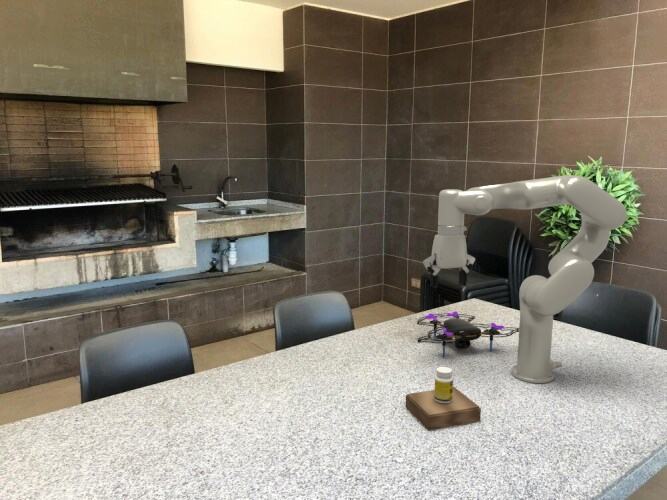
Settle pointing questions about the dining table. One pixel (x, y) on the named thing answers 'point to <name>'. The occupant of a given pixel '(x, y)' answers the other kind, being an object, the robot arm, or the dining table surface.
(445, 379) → the supplement bottle
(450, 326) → the drone
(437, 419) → the walnut stand
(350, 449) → the dining table surface
